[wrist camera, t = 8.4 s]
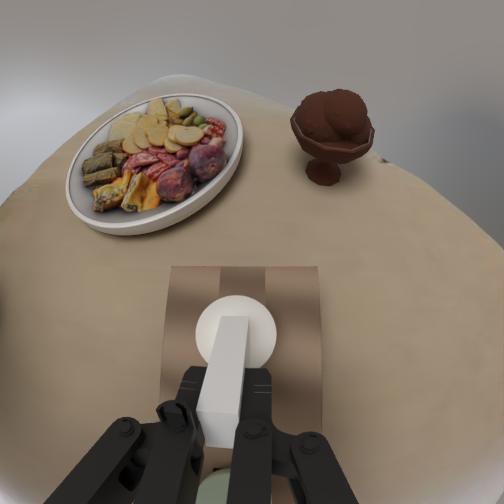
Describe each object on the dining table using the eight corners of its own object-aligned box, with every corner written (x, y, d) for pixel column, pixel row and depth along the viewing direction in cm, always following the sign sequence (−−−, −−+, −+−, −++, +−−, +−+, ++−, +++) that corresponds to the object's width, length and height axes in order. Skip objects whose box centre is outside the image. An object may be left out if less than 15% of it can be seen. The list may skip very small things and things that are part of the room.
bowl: (54, 208, 40) (31, 182, 33) (149, 105, 51) (139, 77, 44) (174, 281, 33) (151, 254, 26) (275, 132, 44) (276, 95, 37)
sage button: (269, 501, 15) (270, 534, 10) (209, 498, 15) (193, 528, 10) (271, 454, 17) (273, 478, 12) (209, 451, 18) (191, 473, 12)
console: (292, 560, 15) (299, 603, 6) (195, 555, 16) (175, 595, 7) (301, 300, 31) (317, 266, 22) (198, 299, 31) (171, 266, 22)
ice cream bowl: (361, 160, 40) (386, 84, 27) (349, 211, 36) (382, 127, 22) (300, 140, 42) (308, 61, 29) (277, 187, 38) (281, 97, 25)
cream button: (273, 375, 20) (276, 374, 15) (211, 373, 21) (193, 371, 15) (273, 316, 23) (276, 295, 17) (214, 315, 23) (198, 294, 17)
